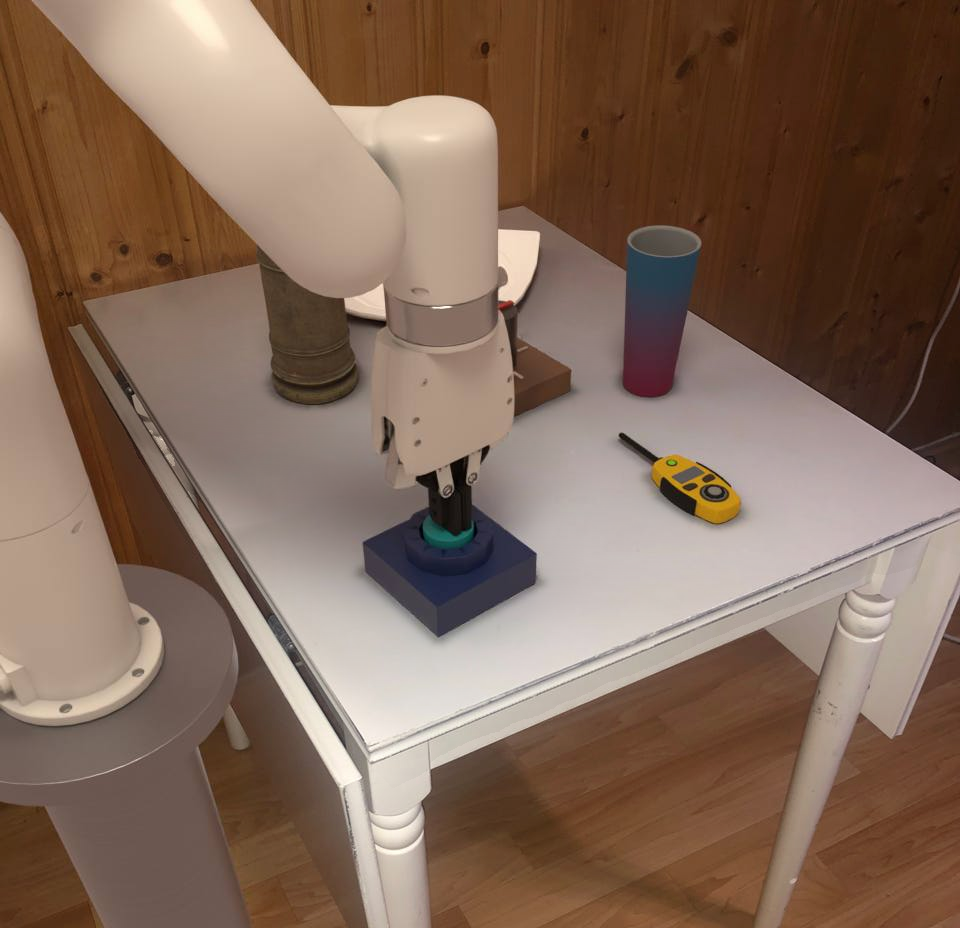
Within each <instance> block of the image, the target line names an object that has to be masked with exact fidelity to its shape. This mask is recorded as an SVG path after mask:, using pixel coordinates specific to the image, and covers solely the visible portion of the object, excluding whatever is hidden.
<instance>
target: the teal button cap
mask: <svg viewBox="0 0 960 928" xmlns="http://www.w3.org/2000/svg"><path fill="white" fill-rule="evenodd" d="M423 538H424V541H425V542H426V543H428V544H429V545H431V546H435V547H439V548H443V549H449V548H459V547H462V546H464V545H466V544H468V543H470V542H472V541H473V539H474V523H473V520H472V527H471V528H470V529H468V530H466V531H464V530H462V531H461V533H460V534H458V535H456V536H453V535H452V534H451V533H449V532H448V531H447V530H446V529H444V528H443V527H442V526H438V525H437V524H436V523H434V522H433V520H432V519H431V517H430V515H429V516H428V517H427V518H426V519H425V520H424V523H423Z"/></svg>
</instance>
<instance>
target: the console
mask: <svg viewBox="0 0 960 928" xmlns="http://www.w3.org/2000/svg"><path fill="white" fill-rule="evenodd" d="M513 376H514V417H517V416H518V415H520V414H523V413H525V412H528V411H530V410H532V409H534V408H537V407H538V406H540V405H543V404H545V403H547V402H549V401H551V400H554V399H556V398H558V397H560V396H562V395H564V394H567V393H569V392H571V381H572V369H571V368H570V367H568V366H567V365H564V364H563V363H561V362H560V361H558V360H557V359H554V358H553V357H551V356H550V355H548V354H546V353H545V352H543V351H541V350H539V349H538V348H536V347H534V346H533V345H531V344H530V343H528V342H526V341H525V340H523V339H521V338H519V337H518V336H517V362H516V364H515V366H514V367H513Z"/></svg>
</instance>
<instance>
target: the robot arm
mask: <svg viewBox="0 0 960 928" xmlns="http://www.w3.org/2000/svg"><path fill="white" fill-rule="evenodd" d="M30 1H31V2H32V3H33V4H34V5H35V6H36V7H37V8H38V9H39V10H40V11H41V12H42V13H43V15H44V16H45V17H46V18H47V19H48V20H49V21H50V22H51V23H52V24H53V25H54V26H55V27H56V29H57V30H58V31H59V32H60V33H61V34H62V35H63V36H64V37H65V38H66V39H67V40H68V41H69V42H70V44H71V45H72V46H73V47H74V48H75V49H76V50H77V51H78V52H79V54H80V55H81V56H82V57H83V59H84V60H85V61H86V62H87V64H88V65H89V66H90V67H91V68H92V70H93V71H94V72H95V73H96V74H97V75H98V76H99V78H100V79H101V80H102V81H103V82H104V83H105V84H106V85H107V86H108V87H109V89H111V91H113V92H114V94H115V95H117V96H118V97H119V99H121V100H122V101H123V102H124V103H125V104H126V105H127V106H128V107H129V108H130V110H132V112H133V113H134V114H136V115H137V117H139V119H140V120H141V121H142V122H143V123H144V124H145V125H146V126H147V127H148V128H149V129H150V130H151V131H152V132H153V133H154V135H155V136H156V137H157V138H158V140H159V141H160V142H161V143H162V144H163V145H164V146H165V148H167V149H168V151H169V152H170V153H171V154H172V155H173V156H174V157H175V158H176V159H177V160H178V162H179V163H180V164H181V165H182V166H183V168H184V169H185V170H186V171H187V172H188V173H189V174H190V175H191V176H192V178H194V179H195V181H196V182H197V183H198V184H199V185H200V186H201V188H203V190H204V191H205V192H206V193H207V194H208V195H209V196H210V197H211V198H212V200H214V202H215V203H216V204H217V205H218V206H219V207H220V208H221V209H222V210H223V211H224V212H225V213H226V215H228V216H229V217H230V218H231V219H232V221H234V223H236V225H238V226H239V228H240V229H242V231H243V232H244V233H245V234H246V235H247V236H248V238H250V239H251V240H252V241H253V242H254V243H255V244H256V246H257V245H258V246H259V247H260V248H261V249H262V250H263V251H264V252H265V253H266V254H267V255H268V256H269V257H270V258H271V259H272V260H273V261H274V262H275V263H276V264H277V265H278V266H279V267H280V268H281V269H282V270H283V271H284V272H285V273H286V274H287V275H288V276H289V277H290V278H291V279H292V280H293V281H295V282H296V283H298V284H299V285H300V286H302V287H304V288H306V289H308V290H309V291H311V292H313V293H316V294H319V295H322V296H326V297H333V298H351V297H355V296H359V295H363V294H365V293H367V292H369V291H372V290H374V289H375V288H377V287H378V286H379V285H381V284H382V283H383V288H384V300H385V311H386V321H385V323H386V325H385V326H384V327H382V328H380V329H379V330H377V332H376V336H375V340H374V346H373V353H372V359H371V360H372V362H371V374H370V418H371V419H370V420H371V421H370V422H371V435H372V443H373V448H374V450H375V451H376V452H377V453H378V454H379V455H380V456H382V455H384V454H387V458H386V466H385V474H384V481H385V482H386V483H387V484H389V485H390V486H391V487H392V488H394V489H395V490H396V491H400V490H404V489H410V488H414V487H416V486H417V485H420V486H423V487H424V488H426V489H427V497H428V507H429V514H430V517H431V519H432V520H433V522H434V523H436V524H437V525H438V526H442V527H443V528H444V529H446V530H447V531H448V532H449V533H451V534H452V535H453V536H456V535H458V534H460V533H461V531H462V530H464V531H466V530H468V529H470V528H471V527H472V517H471V510H472V504H473V490H472V489H473V488H472V486H473V485H475V484H477V482H478V480H479V478H480V469H481V465H482V464H483V462H484V461H485V459H486V457H487V456H488V455H489V452H490V451H491V450H493V449H494V448H495V447H497V446H498V445H499V444H501V443H502V442H503V441H505V440H506V439H507V438H508V436H509V433H510V431H511V429H512V427H513V423H514V418H515V416H514V376H513V365H512V355H511V349H510V342H509V337H508V332H507V328H506V324H505V320H504V317H503V314H502V313H501V311H500V310H498V290H499V289H500V287H502V286H505V285H506V284H507V282H508V276H507V272H506V271H505V269H504V268H503V267H501V266H498V229H499V143H498V131H497V126H496V123H495V121H494V119H493V117H492V115H491V113H490V112H489V111H488V110H487V109H485V107H483V106H482V105H480V104H479V103H478V102H475V101H473V100H470V99H467V98H463V97H458V96H453V95H452V96H451V95H438V94H437V95H436V94H435V95H422V96H421V95H420V96H415V97H411V98H407V99H403V100H400V101H396V102H393V103H392V104H390V105H384V106H381V105H380V106H379V105H378V106H368V105H367V106H364V105H363V106H362V105H361V106H359V105H333V104H329V102H328V101H327V99H325V97H324V96H323V95H322V94H321V92H320V90H319V89H318V88H317V86H315V85H314V83H313V82H312V80H311V79H310V78H309V77H308V75H307V74H306V73H305V72H304V71H303V69H302V68H301V67H300V65H299V64H298V63H297V61H296V60H295V59H294V58H293V56H292V55H291V53H290V52H289V51H288V50H287V48H286V47H285V45H284V44H283V43H282V42H281V41H280V39H279V38H278V37H277V35H276V33H274V31H273V30H272V28H271V27H270V26H269V24H268V23H267V21H266V20H265V19H264V18H263V16H262V15H261V14H260V13H259V11H258V9H257V8H256V6H255V5H254V3H253V2H252V0H30ZM32 285H33V284H32V280H31V276H30V270H29V267H28V262H27V259H26V256H25V253H24V250H23V248H22V245H21V242H20V241H19V239H18V237H17V236H16V234H15V232H14V231H13V229H12V227H11V225H10V224H9V223H8V221H7V219H6V218H5V216H4V215H3V213H2V212H1V211H0V708H1V709H2V710H4V711H5V712H6V713H7V714H9V715H10V716H12V717H14V718H16V719H19V720H21V721H23V722H27V723H31V724H36V725H45V726H63V725H73V724H78V723H83V722H87V721H91V720H94V719H97V718H99V717H102V716H105V715H108V714H110V713H112V712H114V711H115V710H117V709H119V708H121V707H123V706H125V705H126V704H128V703H129V702H130V701H132V700H133V699H135V698H136V697H137V696H138V695H139V694H141V693H142V692H143V691H144V690H145V689H146V688H147V687H148V686H149V684H150V683H151V682H152V681H153V679H154V678H155V677H156V675H157V673H158V671H159V669H160V667H161V665H162V662H163V657H164V653H165V651H164V640H163V637H162V633H161V630H160V627H159V626H158V624H157V622H156V620H155V619H154V618H153V617H152V616H151V615H150V614H149V613H148V612H147V611H146V610H144V609H143V608H141V607H140V606H138V605H136V604H133V603H130V602H129V601H128V598H127V594H126V591H125V588H124V585H123V582H122V579H121V576H120V573H119V570H118V567H117V564H118V563H117V561H116V558H115V555H114V552H113V548H112V546H111V545H112V544H111V542H110V540H109V535H108V533H107V531H106V527H105V524H104V521H103V518H102V515H101V511H100V508H99V506H98V502H97V500H96V497H95V493H94V491H93V487H92V485H91V481H90V478H89V475H88V474H87V471H86V468H85V465H84V462H83V459H82V456H81V452H80V449H79V446H78V444H77V441H76V438H75V435H74V432H73V429H72V426H71V424H70V420H69V418H68V415H67V412H66V409H65V407H64V404H63V401H62V398H61V395H60V392H59V389H58V386H57V384H56V381H55V376H54V374H53V370H52V366H51V363H50V359H49V356H48V353H47V349H46V345H45V341H44V337H43V333H42V329H41V325H40V320H39V314H38V308H37V302H36V299H35V295H34V292H33V286H32Z"/></svg>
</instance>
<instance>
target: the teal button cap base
mask: <svg viewBox="0 0 960 928" xmlns="http://www.w3.org/2000/svg"><path fill="white" fill-rule="evenodd" d="M429 515H430V514H429V506H427V507H425V508H422V509H420V510H419V511H416V512H414V513H413V514H412V515H411V516H410V517H409V519H406V520H405V521H403V522H401V523H398V524H396V525H394V526H392V527H390V528H388V529H386V530H384V531H382V532H380V533H378V534H376V535H374V536H372V537H370V538H368V539H365V540H363V541H362V550H363V551H362V553H363V560H364V571H365V573H366V574H368V575H369V577H370V578H372V579H373V580H375V582H376V583H377V584H379V585H380V587H382V588H383V589H384V590H385V591H386V592H387V593H389V595H391V596H392V597H393V598H394V599H395V600H396V601H397V602H398V603H400V604H401V605H402V606H403V608H405V609H407V610H408V611H409V612H410V613H411V614H412V615H413V616H414V617H415V618H416V619H417V620H419V621H420V622H421V624H423V625H424V627H426V628H427V629H429V631H430V632H432V633H433V634H434V635H435V636H436V637H438V638H440V637H441V636H443V635H445V634H447V633H449V632H451V631H452V630H454V629H456V628H458V627H460V626H461V625H463V624H465V623H466V622H469V621H470V620H472V619H474V618H476V617H478V616H479V615H481V614H483V613H485V612H486V611H488V610H490V609H492V608H494V607H495V606H497V605H499V604H501V603H503V602H505V601H506V600H508V599H510V598H512V597H514V596H515V595H518V594H519V593H521V592H523V591H524V590H526V589H527V588H530V587H532V586H533V585H536V581H537V563H538V561H537V560H538V559H537V557H538V553H537V552H536V551H534V550H533V549H532V548H531V547H529V546H528V545H526V544H525V543H524V542H523V541H522V540H520V539H518V537H516V536H515V535H513V534H512V533H511V532H509V530H507V529H506V528H504V527H503V526H501V524H499V523H498V522H497V521H495V520H494V519H493V518H492V517H490V516H489V515H487V514H486V513H484V512H483V511H482V510H481V509H479V507H477V506H475V505H474V504H473V503H472V510H471V517H472V520H473V523H474V539H473V541H472V542H470V543H468V544H466V545H464V546H462V547H459V548H449V549H443V548H439V547H435V546H431V545H429V544H428V543H426V542H425V541H424V538H423V523H424V520H425V519H426V518H427V517H428V516H429Z"/></svg>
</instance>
